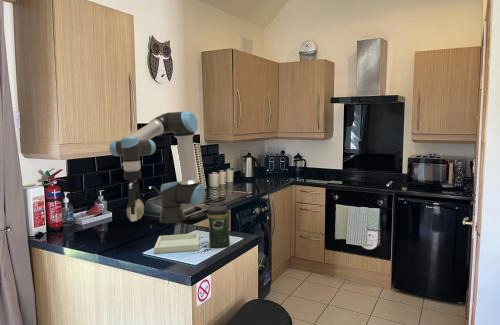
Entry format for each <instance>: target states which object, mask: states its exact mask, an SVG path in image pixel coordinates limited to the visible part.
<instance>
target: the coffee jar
mask: <svg viewBox="0 0 500 325" xmlns="http://www.w3.org/2000/svg"><path fill="white" fill-rule="evenodd" d="M206 216H207V219H208V223H209V224H208V225H209V227H208V229H209V230H208V233H209V234H208V245H209V247H211V248H224V247H228V246H230V245H231V244H230V243H231V242H230V234H229V227H228V217H229V210H228V207H227V205H213V206H212V205H211V206H210V205H209V206H208V207H207V214H206Z"/></svg>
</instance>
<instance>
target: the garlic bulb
mask: <svg viewBox="0 0 500 325" xmlns="http://www.w3.org/2000/svg"><path fill="white" fill-rule="evenodd" d="M132 204H133V203H132ZM135 205H136V212H137V220H140V219H142V217H143V215H144V214H145V213H144V212H145V211H144V210H145V205H144V202H143V201H142V199H141V198H140V199H137V200H136V201H135ZM126 215H127V216H126V217H127V218H128V219H129V220H130V221H131V219H130V207H128V204H127V208H126Z"/></svg>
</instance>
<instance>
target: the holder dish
mask: <svg viewBox="0 0 500 325" xmlns="http://www.w3.org/2000/svg"><path fill="white" fill-rule="evenodd" d="M153 249H154V250H153V251H154V255H159V254H160V255H161V254H174V253H186V252H198V251H200V232H198V233H196V232H195V233H183V234H182V233H181V234H170V235H169V234H168V235H159V236H158V238H157V241H156V243H155V245H154V247H153Z"/></svg>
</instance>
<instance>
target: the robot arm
mask: <svg viewBox="0 0 500 325" xmlns="http://www.w3.org/2000/svg"><path fill="white" fill-rule="evenodd" d="M198 123H199V122H198V118H197V117H196V115H195V113H194V112H192V111H186V110H185V111H175V112H174V111H173V112H172V111H171V112H166V113H162V114H160V115H158V116H156V117H155V118H153V119H151V120H149V122H148V124H146V125H144V126H143V127H141V128H139V129H137V130H136V131H134V132H133V133H131V134H129V135H127V136H123V137H122V138H121V140H114V141H112V142H110V144H109V147H108V148H109V149H108V150H109V153H110V155H112V156H114V157H122V164H121V166H123V171H124V172H123V178H124V181H125V180H126V181H128V183H127V197H128V199H127V200H128V201H127V202H128V204H127V205H128V207H130V219H131V220H130V222H136V221H137V222H138V219H137V212H136V205H135V201H136V200H137V199H140V200H141V195H140V187H139V186H140V185H139V179H141V178H142V170H141V157H143V156H150V155H153V154H154V153H155V152H156V148H157V147H156V146H157V145H156V143H155V141H153V140H151V139H153V138H155V137H156V136H161V135H163V134H167V133H168V134H169V133H170V134H173V137H174V138H176V139H177V148H178V156H179V165H180V173H181V175H180V176H181V180H180V181H173V182H167V183H162V184H161V186H160V201H161V202H160V203H161V210H160V211H161V212H160V215H159V218H158V219H159V223H160V224H177V223H182V222H184V221H185V220H186V215H185V213H184V210H183V207H182V205H199V204H200V203H202V202H203V200H204V197H205V193H206V192H205V191H206V190H205V186H204V185H203V184H201V181H200V179H199V178H198V177H197V167H196V159H195V151H194V150H195V149H194V148H195V147H194V140H193V137H194V136H195V134H196V132H197V130H198V127H199V124H198ZM132 203H133V204H132Z"/></svg>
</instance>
